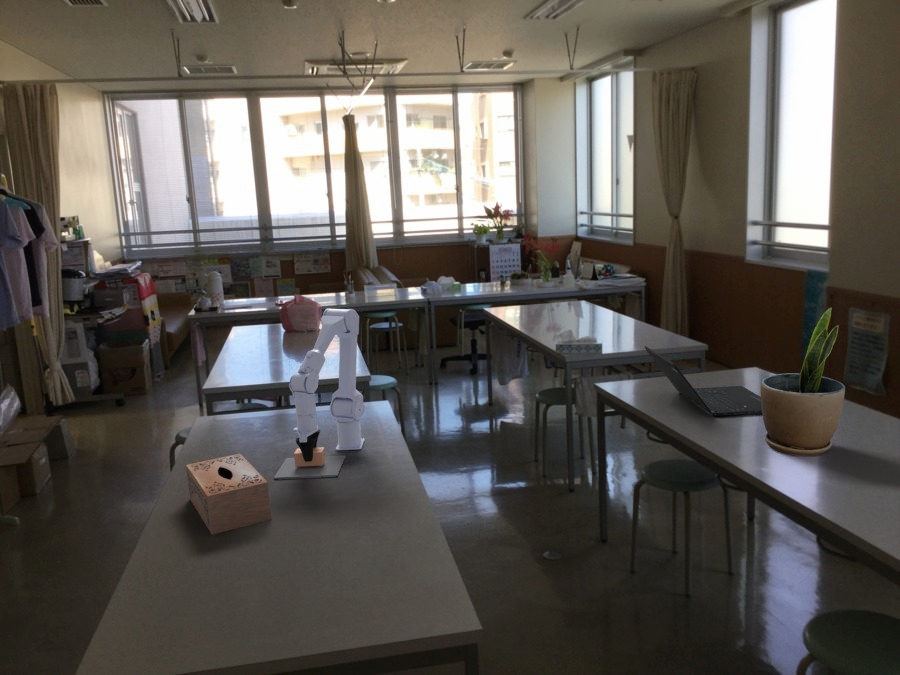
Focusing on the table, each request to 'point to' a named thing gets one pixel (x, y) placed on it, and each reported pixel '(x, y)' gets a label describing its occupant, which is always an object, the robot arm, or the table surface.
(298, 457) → the light orange rectangular block
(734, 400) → the laptop
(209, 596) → the table surface
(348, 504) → the table surface
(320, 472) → the mat
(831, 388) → the potted plant
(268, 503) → the tissue box cover
